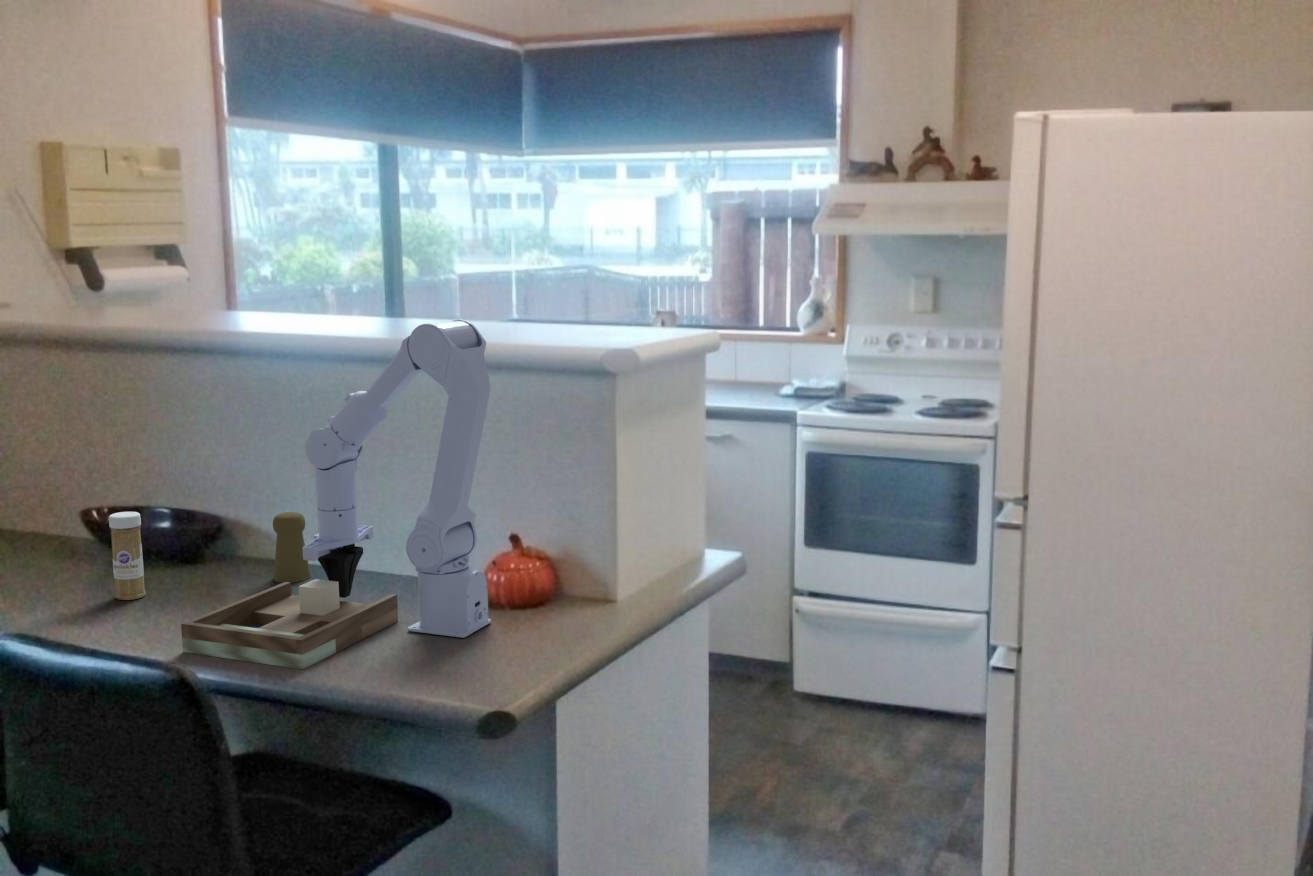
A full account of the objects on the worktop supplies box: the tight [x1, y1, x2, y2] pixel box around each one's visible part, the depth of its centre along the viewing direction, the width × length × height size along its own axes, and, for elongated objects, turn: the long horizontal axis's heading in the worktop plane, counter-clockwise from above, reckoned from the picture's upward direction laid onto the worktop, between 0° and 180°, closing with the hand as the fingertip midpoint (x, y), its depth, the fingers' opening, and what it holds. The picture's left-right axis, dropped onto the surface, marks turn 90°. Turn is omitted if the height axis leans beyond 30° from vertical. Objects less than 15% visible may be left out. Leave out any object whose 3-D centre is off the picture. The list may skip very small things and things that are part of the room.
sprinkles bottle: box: [108, 511, 147, 601], centre depth 194 cm, size 5×5×13 cm
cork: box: [272, 511, 312, 584], centre depth 205 cm, size 6×6×11 cm
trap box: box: [180, 582, 399, 670], centre depth 175 cm, size 20×22×4 cm
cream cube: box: [298, 578, 340, 616], centre depth 180 cm, size 4×4×4 cm
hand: (341, 595), depth 185 cm, fingers closed
